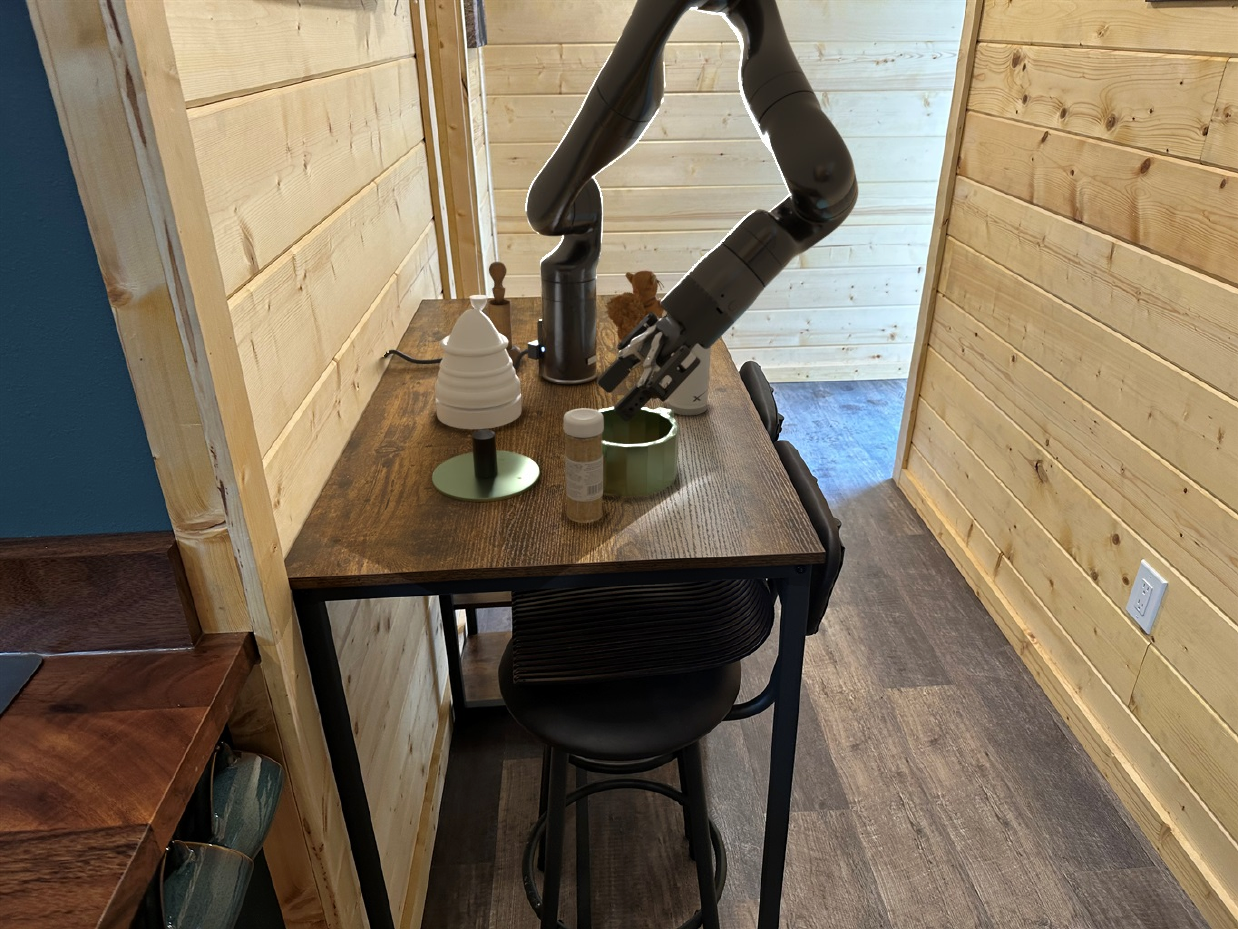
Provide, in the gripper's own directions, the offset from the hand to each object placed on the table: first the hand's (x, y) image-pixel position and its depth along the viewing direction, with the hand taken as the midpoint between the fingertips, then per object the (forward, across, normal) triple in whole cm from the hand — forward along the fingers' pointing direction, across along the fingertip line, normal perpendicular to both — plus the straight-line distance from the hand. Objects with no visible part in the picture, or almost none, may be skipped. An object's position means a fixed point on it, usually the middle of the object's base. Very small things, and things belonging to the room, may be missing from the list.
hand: (610, 401), depth 94 cm
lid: (+20, -12, 0) cm, 23 cm away
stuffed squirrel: (-4, -65, +26) cm, 70 cm away
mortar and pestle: (+15, -58, +6) cm, 60 cm away
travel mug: (-3, -30, +25) cm, 39 cm away
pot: (+7, -9, +14) cm, 18 cm away
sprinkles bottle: (+13, 0, +8) cm, 15 cm away
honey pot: (+19, -34, +2) cm, 39 cm away
